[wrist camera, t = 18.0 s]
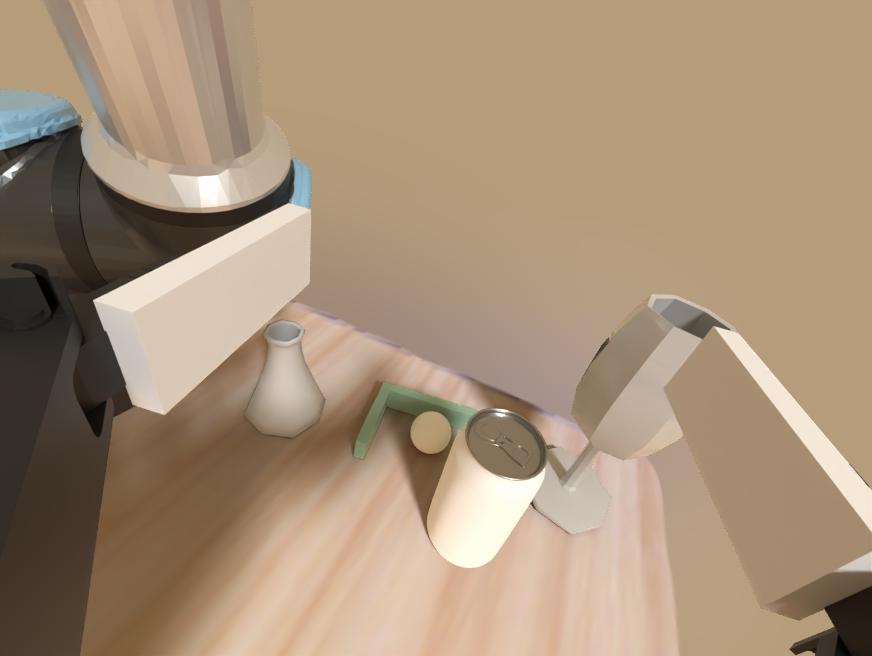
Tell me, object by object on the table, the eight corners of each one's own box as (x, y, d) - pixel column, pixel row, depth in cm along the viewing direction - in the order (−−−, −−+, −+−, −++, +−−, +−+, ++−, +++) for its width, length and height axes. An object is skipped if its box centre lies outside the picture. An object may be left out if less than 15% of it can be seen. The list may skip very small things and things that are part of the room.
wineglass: (623, 505, 37) (781, 341, 25) (572, 556, 32) (741, 379, 20) (555, 439, 42) (659, 276, 30) (502, 473, 37) (602, 293, 25)
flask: (228, 420, 35) (215, 338, 29) (278, 374, 41) (275, 298, 35) (296, 450, 34) (295, 371, 28) (337, 399, 40) (343, 324, 34)
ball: (404, 428, 38) (400, 429, 34) (434, 403, 39) (433, 401, 35) (428, 460, 38) (427, 465, 34) (458, 434, 38) (461, 436, 34)
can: (455, 477, 35) (491, 389, 28) (513, 527, 32) (569, 442, 25) (409, 528, 31) (439, 437, 24) (473, 590, 28) (527, 508, 21)
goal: (487, 499, 34) (496, 484, 33) (353, 456, 35) (355, 440, 33) (494, 432, 41) (501, 417, 39) (381, 397, 41) (384, 381, 40)
